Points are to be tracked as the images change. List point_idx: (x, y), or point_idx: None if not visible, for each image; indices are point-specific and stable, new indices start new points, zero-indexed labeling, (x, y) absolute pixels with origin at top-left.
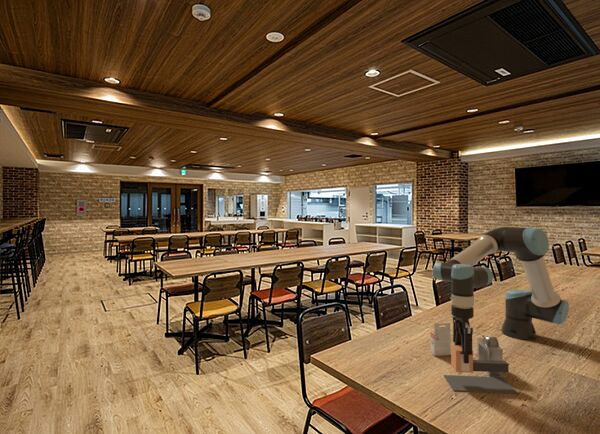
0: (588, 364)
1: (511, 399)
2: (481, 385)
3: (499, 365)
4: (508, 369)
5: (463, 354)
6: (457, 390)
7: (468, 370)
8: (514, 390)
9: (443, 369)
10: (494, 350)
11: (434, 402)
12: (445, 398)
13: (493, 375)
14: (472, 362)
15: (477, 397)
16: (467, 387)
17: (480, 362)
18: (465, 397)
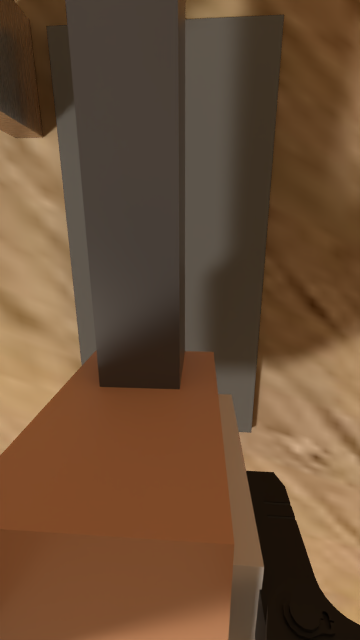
0: None
1: (350, 121)
2: (190, 257)
3: (179, 19)
4: None
5: (255, 620)
6: (251, 413)
7: (230, 405)
8: (248, 28)
9: (8, 397)
10: None
11: (349, 536)
12: (318, 485)
13: (32, 97)
14: (217, 404)
15: (315, 333)
16: (221, 352)
17: (166, 286)
18: (313, 395)
